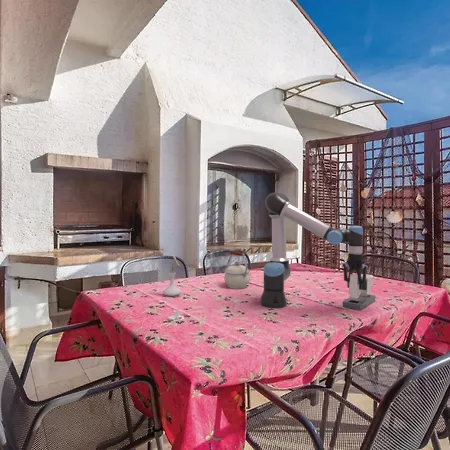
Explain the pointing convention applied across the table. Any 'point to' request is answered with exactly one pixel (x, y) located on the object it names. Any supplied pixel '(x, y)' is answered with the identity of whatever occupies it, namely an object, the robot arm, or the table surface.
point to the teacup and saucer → (176, 315)
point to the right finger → (353, 285)
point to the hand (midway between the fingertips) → (354, 294)
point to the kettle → (237, 273)
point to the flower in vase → (172, 283)
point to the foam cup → (370, 281)
